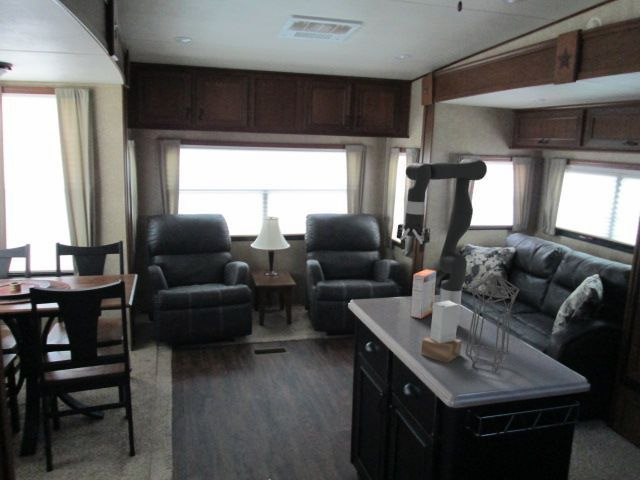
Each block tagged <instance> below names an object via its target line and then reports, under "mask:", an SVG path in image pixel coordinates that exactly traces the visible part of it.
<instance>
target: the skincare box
mask: <svg viewBox="0 0 640 480" xmlns="http://www.w3.org/2000/svg"><path fill="white" fill-rule="evenodd" d="M458 310H459V305H458V304H456V303H454V302H451V301H449V300H448V301H443V302H439V301H438V302H434V303H433V312H432V313H431V315H432V316H431V317H432V318H431V326H430V335H429V336H430V338H431V339H432V340H434V341H436V342H437V343H439V344H441V343H446V342H450V341H455V340H456V339H457V338H456V337H457V328H458V327H457V320H458Z"/></svg>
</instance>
